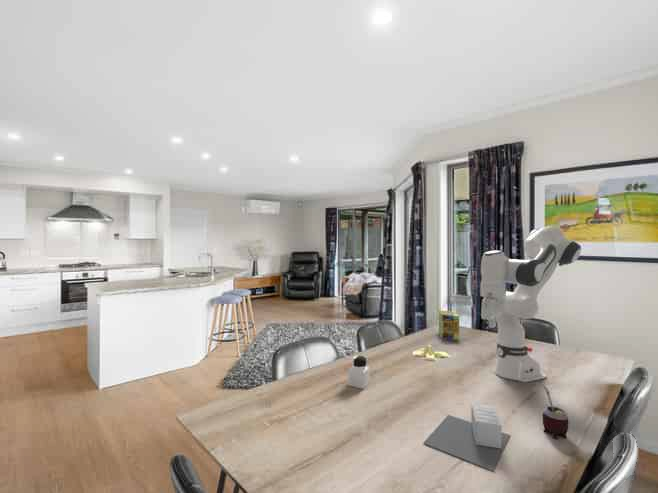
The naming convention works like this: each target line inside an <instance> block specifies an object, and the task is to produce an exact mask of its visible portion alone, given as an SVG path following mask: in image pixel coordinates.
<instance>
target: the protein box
mask: <svg viewBox="0 0 658 493" xmlns="http://www.w3.org/2000/svg"><path fill="white" fill-rule="evenodd" d="M438 334H439V336H440V337H441V339H442V340H451V341H452V340H453V341H454V340H455V341H459V340H460V315H459V314H458V313H457V312H456V311H454V310H453V311H452V310H451V311H450V310H438Z"/></svg>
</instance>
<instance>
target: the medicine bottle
mask: <svg viewBox="0 0 658 493" xmlns="http://www.w3.org/2000/svg"><path fill="white" fill-rule="evenodd" d="M351 363H352V364H351V367H350V368H349V369H348V386H349V387H354V388H358V389H365V388H366V387H367V386H368V385H369V383H370V366H367V358H366V357H365V356H364V355H355V356H353V357H352V359H351Z"/></svg>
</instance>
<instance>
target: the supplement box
mask: <svg viewBox="0 0 658 493" xmlns="http://www.w3.org/2000/svg"><path fill="white" fill-rule="evenodd" d="M470 413H471V416H470V417H471V418H470V419H471V421H470V422H471V424H472V429H473V434H474V438H475V443H476V445H482V446H488V447H494V448H501V439H502V433H503V432H502V423H501V420H500V418H499V415H498V412H497V410H496V407H495V406H494V405H493V406H492V405H486V404H478V403H471V412H470Z"/></svg>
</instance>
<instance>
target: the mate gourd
mask: <svg viewBox="0 0 658 493" xmlns="http://www.w3.org/2000/svg"><path fill="white" fill-rule="evenodd" d="M539 383H540V384H541V386H542V387H543V388H544V389H545V392H546V395H547V397H548V401H549V404H550V406H547V407H544V409H543V411H542V426H543V433H545V434H546V433H547V434H550V435H553V439H554V440H557V439H558V437H561V438H565V439H567V438H568V436H567V433H568V431H569V418H568V414H567V413H566V410H563V409H562V408H559V407H557V406H553V403H552V399H551V395H550V392H549V390H548V388H547V387H546V386H545V385H544V383H543V382H542V381H540V382H539Z"/></svg>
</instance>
